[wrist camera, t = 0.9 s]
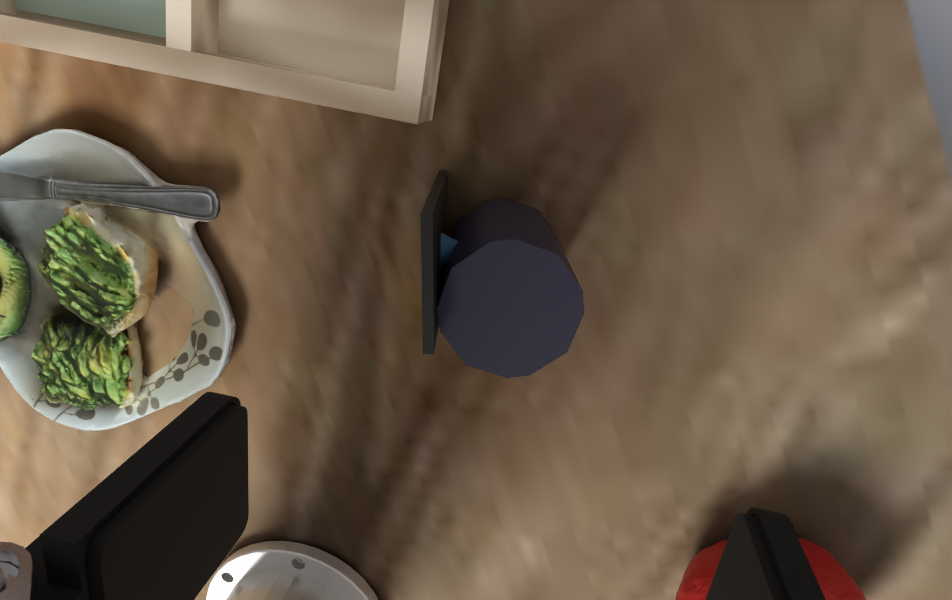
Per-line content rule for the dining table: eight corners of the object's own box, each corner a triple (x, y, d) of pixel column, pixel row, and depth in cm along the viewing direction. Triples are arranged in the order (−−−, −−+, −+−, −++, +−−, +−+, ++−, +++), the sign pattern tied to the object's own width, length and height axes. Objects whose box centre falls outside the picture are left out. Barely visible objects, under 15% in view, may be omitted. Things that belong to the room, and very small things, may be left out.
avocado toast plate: (156, 44, 31) (88, 38, 27) (318, 348, 36) (282, 385, 31) (-94, 188, 36) (-184, 202, 32) (74, 437, 41) (15, 479, 36)
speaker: (402, 270, 32) (359, 349, 23) (440, 167, 31) (410, 204, 21) (535, 321, 33) (548, 419, 23) (579, 223, 31) (615, 285, 21)
